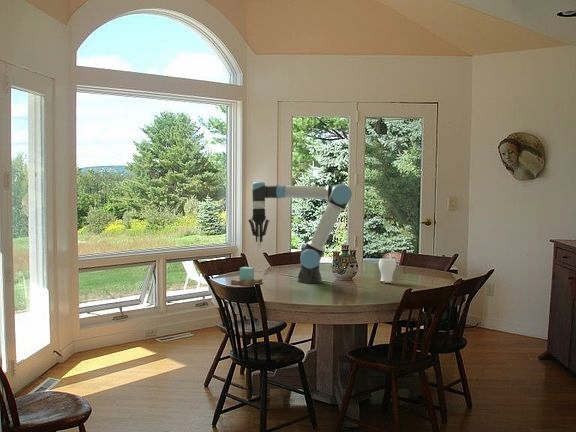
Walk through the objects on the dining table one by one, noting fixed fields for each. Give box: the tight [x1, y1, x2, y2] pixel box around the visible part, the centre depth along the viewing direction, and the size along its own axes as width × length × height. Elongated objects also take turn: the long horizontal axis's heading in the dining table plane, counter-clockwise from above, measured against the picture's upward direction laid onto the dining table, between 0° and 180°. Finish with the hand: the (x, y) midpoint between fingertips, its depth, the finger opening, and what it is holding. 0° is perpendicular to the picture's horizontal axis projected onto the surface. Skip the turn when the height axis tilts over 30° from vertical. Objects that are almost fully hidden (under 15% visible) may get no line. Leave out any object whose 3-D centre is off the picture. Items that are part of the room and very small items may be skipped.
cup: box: [378, 257, 397, 282], centre depth 391 cm, size 11×11×15 cm
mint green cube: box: [238, 266, 255, 281], centre depth 371 cm, size 7×7×7 cm
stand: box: [230, 277, 263, 287], centre depth 371 cm, size 14×14×8 cm
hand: (259, 247), depth 374 cm, fingers closed
